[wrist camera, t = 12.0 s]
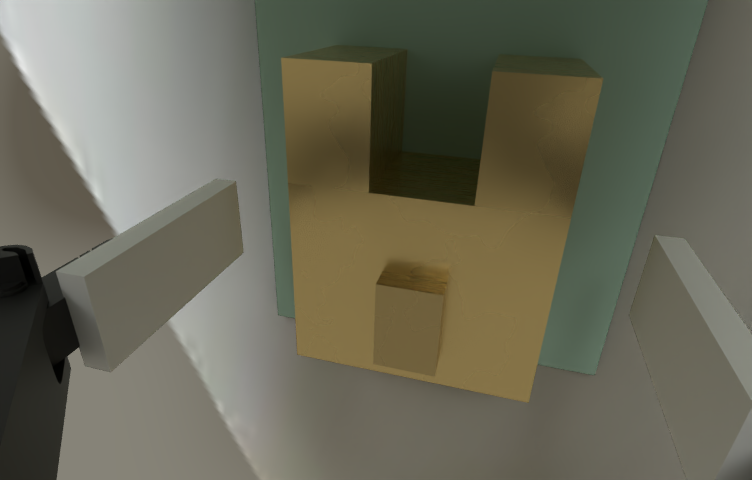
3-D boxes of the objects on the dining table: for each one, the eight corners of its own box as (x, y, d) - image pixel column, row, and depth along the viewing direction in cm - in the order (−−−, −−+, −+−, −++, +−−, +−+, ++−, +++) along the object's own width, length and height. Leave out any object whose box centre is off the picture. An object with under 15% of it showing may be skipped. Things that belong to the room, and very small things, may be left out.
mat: (258, -23, 17) (253, -24, 16) (707, -12, 14) (712, -13, 13) (281, 310, 23) (278, 314, 23) (593, 369, 20) (594, 375, 20)
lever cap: (337, 45, 17) (267, 60, 12) (581, 58, 15) (609, 83, 10) (338, 289, 21) (288, 369, 17) (526, 322, 19) (528, 421, 15)
